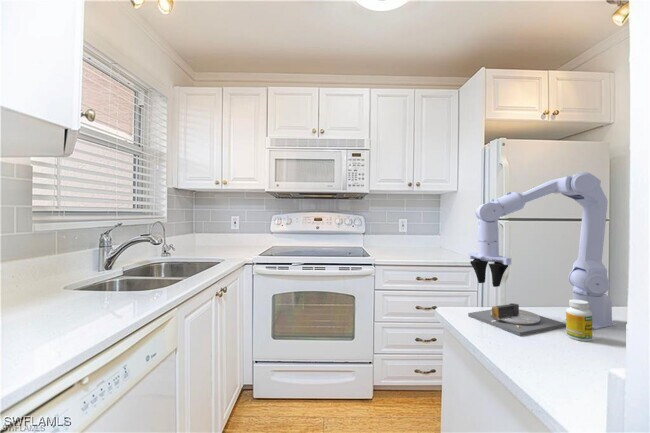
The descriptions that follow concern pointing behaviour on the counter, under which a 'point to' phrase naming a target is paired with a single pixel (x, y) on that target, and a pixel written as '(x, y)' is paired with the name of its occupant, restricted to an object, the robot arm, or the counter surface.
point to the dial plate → (518, 329)
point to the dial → (514, 315)
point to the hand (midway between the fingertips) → (488, 284)
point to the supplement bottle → (579, 320)
